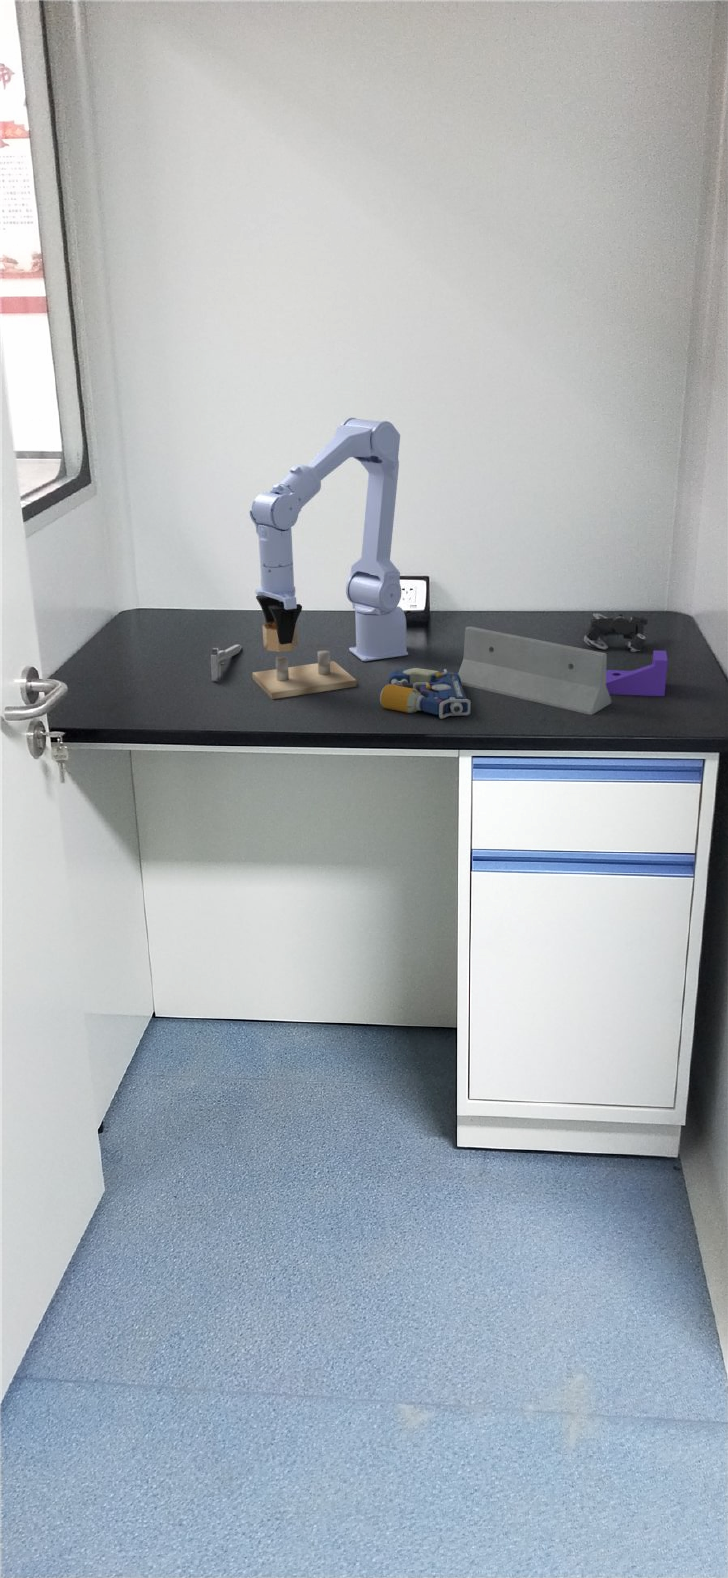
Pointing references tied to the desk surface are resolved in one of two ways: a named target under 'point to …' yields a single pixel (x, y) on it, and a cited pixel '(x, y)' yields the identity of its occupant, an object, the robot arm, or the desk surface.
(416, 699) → the toy blaster gun
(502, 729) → the desk surface
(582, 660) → the barrier
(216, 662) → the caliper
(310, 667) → the wooden peg board
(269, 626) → the ring
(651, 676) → the bracket
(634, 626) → the bicycle component
